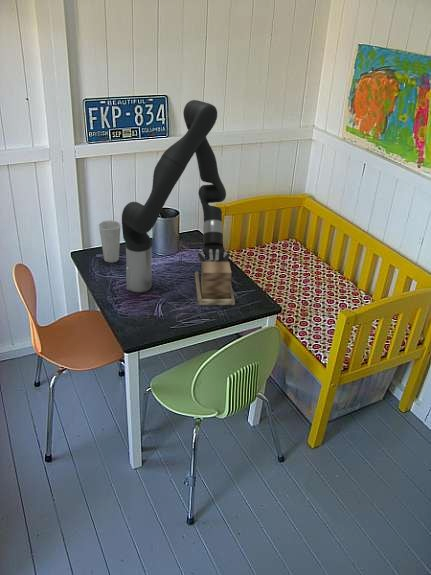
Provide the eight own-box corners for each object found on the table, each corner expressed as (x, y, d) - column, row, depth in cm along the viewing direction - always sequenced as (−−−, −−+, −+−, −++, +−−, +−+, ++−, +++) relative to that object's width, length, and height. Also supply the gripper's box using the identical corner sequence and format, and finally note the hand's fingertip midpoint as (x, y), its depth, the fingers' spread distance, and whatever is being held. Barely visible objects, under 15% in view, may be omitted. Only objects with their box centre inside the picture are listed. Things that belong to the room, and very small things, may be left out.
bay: (191, 308, 197) (191, 301, 195) (188, 278, 214) (188, 271, 213) (240, 307, 199) (241, 301, 197) (234, 278, 216) (234, 271, 215)
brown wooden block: (201, 301, 199) (203, 272, 192) (200, 289, 206) (201, 261, 199) (229, 301, 200) (231, 272, 194) (227, 289, 207) (229, 261, 200)
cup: (118, 253, 229) (117, 219, 220) (124, 262, 222) (123, 228, 214) (98, 256, 226) (96, 221, 217) (103, 265, 219) (101, 230, 211)
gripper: (196, 230, 204) (197, 275, 200) (231, 230, 205) (232, 275, 201) (195, 236, 211) (195, 280, 207) (229, 237, 212) (230, 280, 208)
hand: (214, 277), depth 204 cm, fingers closed
